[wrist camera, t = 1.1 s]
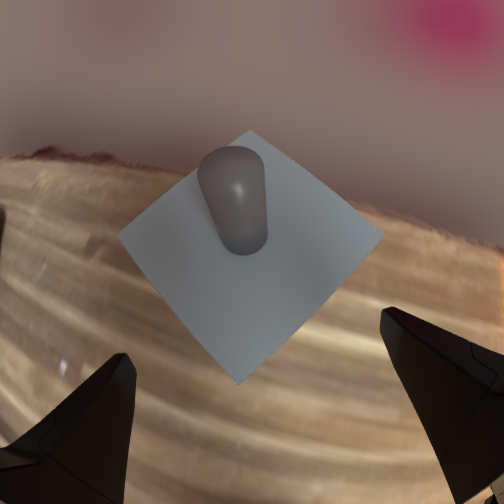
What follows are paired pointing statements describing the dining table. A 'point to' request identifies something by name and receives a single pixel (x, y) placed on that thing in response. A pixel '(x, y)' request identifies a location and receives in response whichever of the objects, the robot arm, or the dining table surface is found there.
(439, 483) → the dining table surface
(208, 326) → the lid
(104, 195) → the dining table surface
